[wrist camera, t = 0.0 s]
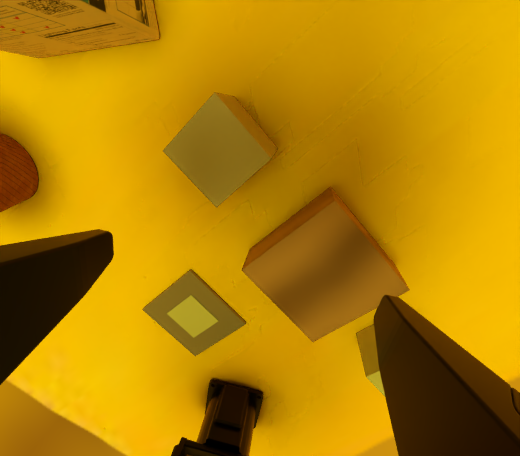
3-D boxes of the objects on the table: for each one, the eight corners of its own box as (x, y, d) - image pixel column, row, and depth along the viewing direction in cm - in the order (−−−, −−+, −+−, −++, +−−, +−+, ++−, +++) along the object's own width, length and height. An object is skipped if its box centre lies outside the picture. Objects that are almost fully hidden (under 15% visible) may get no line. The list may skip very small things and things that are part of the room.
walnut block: (393, 262, 24) (409, 289, 21) (311, 311, 27) (312, 342, 24) (330, 185, 22) (335, 200, 19) (250, 247, 26) (241, 270, 22)
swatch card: (246, 322, 29) (245, 324, 28) (196, 353, 32) (195, 356, 31) (190, 269, 27) (189, 271, 27) (143, 307, 30) (141, 310, 30)
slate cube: (278, 148, 22) (271, 158, 17) (233, 188, 23) (216, 207, 19) (234, 96, 21) (214, 92, 16) (191, 142, 22) (162, 150, 18)
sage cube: (431, 343, 27) (457, 391, 22) (385, 364, 28) (400, 412, 24) (402, 308, 26) (423, 351, 21) (355, 332, 27) (366, 376, 23)
